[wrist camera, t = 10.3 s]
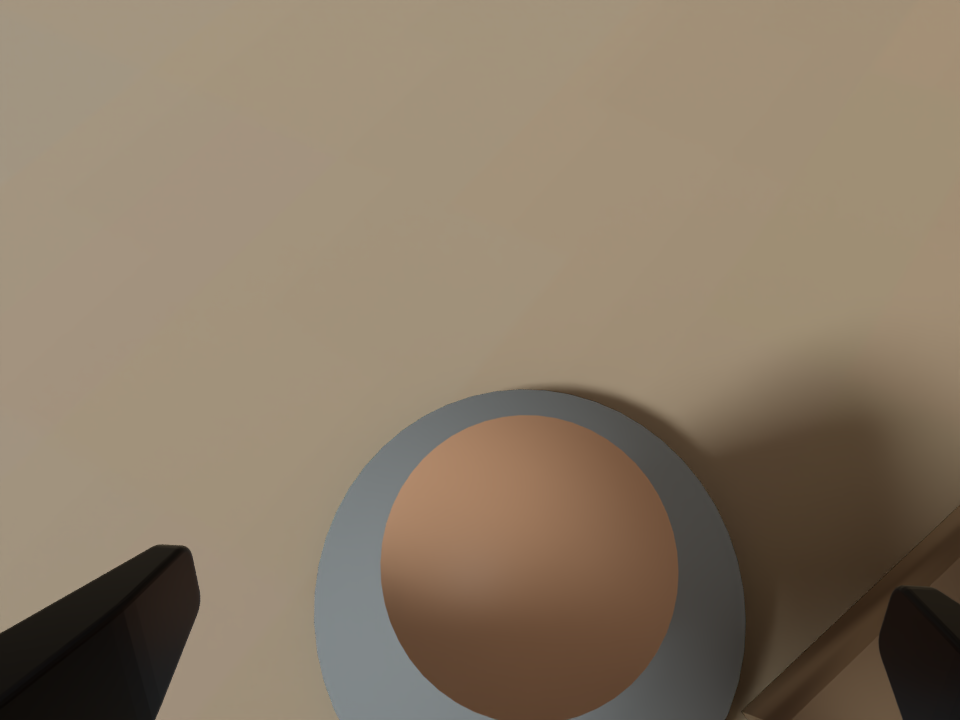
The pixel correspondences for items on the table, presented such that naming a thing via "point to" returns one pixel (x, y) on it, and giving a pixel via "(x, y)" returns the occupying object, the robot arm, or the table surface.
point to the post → (529, 569)
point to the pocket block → (860, 645)
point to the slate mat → (420, 705)
